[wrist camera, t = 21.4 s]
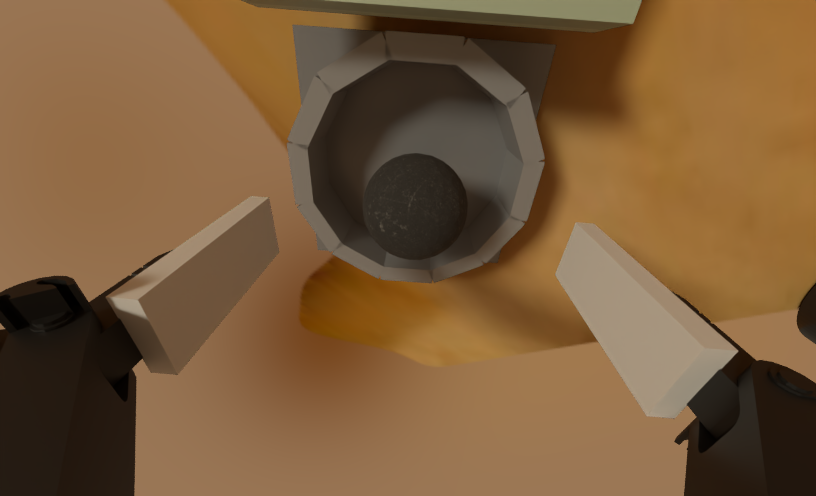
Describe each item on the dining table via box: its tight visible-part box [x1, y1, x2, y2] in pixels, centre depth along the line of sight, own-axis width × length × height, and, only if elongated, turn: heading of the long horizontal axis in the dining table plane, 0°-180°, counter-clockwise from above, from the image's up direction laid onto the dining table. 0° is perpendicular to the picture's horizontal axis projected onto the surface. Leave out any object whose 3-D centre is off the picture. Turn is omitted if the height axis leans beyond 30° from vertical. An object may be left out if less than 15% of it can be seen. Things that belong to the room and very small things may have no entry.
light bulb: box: [363, 153, 468, 260], centre depth 18 cm, size 6×6×10 cm
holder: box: [287, 25, 556, 283], centre depth 20 cm, size 16×16×5 cm
